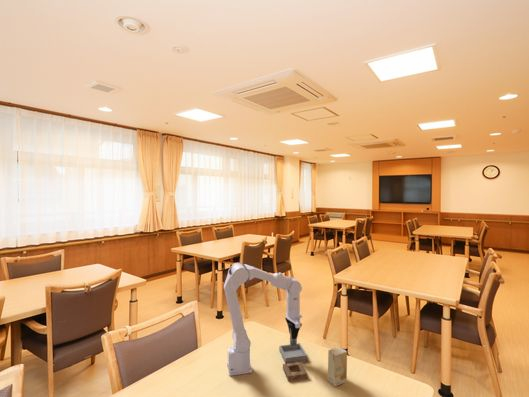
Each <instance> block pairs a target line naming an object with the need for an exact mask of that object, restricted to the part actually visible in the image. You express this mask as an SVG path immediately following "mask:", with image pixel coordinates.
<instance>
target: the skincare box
mask: <svg viewBox="0 0 529 397" xmlns="http://www.w3.org/2000/svg"><path fill="white" fill-rule="evenodd" d="M327 353H328V358H327V360H328V361H327V381H328V382H329V383H331V385H332V386H334V387H337V386H340V385H342V384H345V383H347V381H348V380H347V377H348V376H347V375H348V374H347V372H348V351H347V350H346V349H345V348H343V347H341V346H337V347H333V348H331V349H328V352H327Z"/></svg>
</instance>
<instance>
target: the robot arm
mask: <svg viewBox="0 0 529 397" xmlns="http://www.w3.org/2000/svg"><path fill="white" fill-rule="evenodd" d="M254 278H256V279H259V280H261V281H266V282H269V283H270V284H271V286H272V287H275V288H278V289H280V290H283V291H286V317H284V318H285V322H286V325H287V327H288V329H287V330H288V332H289V334H290V330H291V336H292V339H298V336H299V331H300V330H301V327H302V325H303V324H302V322H301V318H303V315H302V314H301V313H300V311H301V310H300V309H301V308H300V304H301V303H300V301H301V300H300V298H301V297H300V294H301V292H302V289H303V287H302V285H301V282H299V281H298V280H297V279H296V278H294V277H293V276H287V275H283V273H282V272H275V273H273V274H272V273H269V272H267V271H264V270H262V269H260V268H257V267H255V266H252V265H249V264H245V263H244V264H243V263H241V262H235V263H233V264H232V265H231V267H229V269H228V270H227V275H226V278H225V281H224V284H223V290H224V294H225V298H226V304H227V308H228V312H229V317H230V320H231V325H232V335H231V336H232V340H233V342H234V343H233V345H232V347H230V348H227V362H226V363H227V365H226V366H227V369H228V370H227V371H228V375H229V376H238V375H244V374H251V373H253V370H252V366H251V365H252V364H251V350H250V349H251V344H252V343H251V340H250V338H249V335H248V332H247V330H246V329H245V328H246V327H245V326H244V325H245V324H244V321H243V317H242V312H241V307H240V304H239V299H238V298H239V297H238V294H237V290H238V288H239V287H241V286H242V285H243V284H244V283H246V281H248V280H249V281H251V280H253V279H254Z"/></svg>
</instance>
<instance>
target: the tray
mask: <svg viewBox="0 0 529 397" xmlns="http://www.w3.org/2000/svg"><path fill="white" fill-rule="evenodd" d="M278 348H279V354H280V355H281V357H282V360H283V362H284V364H287V363H295V362H301V363H303V362H308V354H307V352H306V351H305V348H304V347H303V346H302V345H301V343H298V342H297V345H296V346H292V345H290V343H289V344H283V345H279V347H278Z"/></svg>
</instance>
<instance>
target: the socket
mask: <svg viewBox="0 0 529 397" xmlns="http://www.w3.org/2000/svg"><path fill="white" fill-rule="evenodd" d="M282 370H283V373H284V375H285V377H286V380H287V382H291V381H299V380H306V379H308V372H307V370H306V368H305V367H304V364H303V362H295V363H287V364H285V363H282ZM297 370H298V371H297ZM291 371H294V372H291ZM295 371H296V372H295Z"/></svg>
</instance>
